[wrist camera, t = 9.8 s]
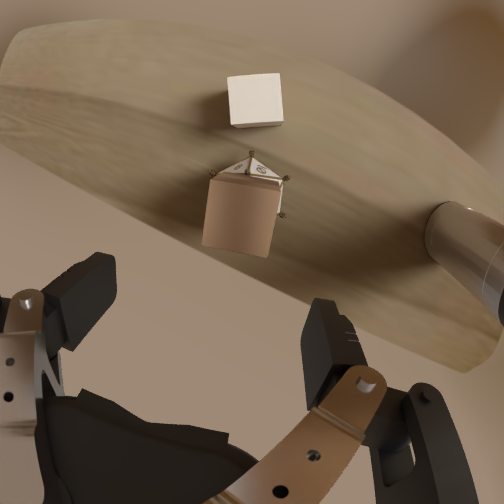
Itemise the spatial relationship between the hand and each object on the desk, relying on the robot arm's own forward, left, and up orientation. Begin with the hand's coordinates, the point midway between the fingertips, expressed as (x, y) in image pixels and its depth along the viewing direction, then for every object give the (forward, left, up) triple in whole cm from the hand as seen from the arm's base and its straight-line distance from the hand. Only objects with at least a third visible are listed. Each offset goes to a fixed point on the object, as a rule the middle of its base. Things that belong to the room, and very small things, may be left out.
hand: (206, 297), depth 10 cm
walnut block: (0, 0, -16) cm, 16 cm away
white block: (+1, -10, -24) cm, 26 cm away
